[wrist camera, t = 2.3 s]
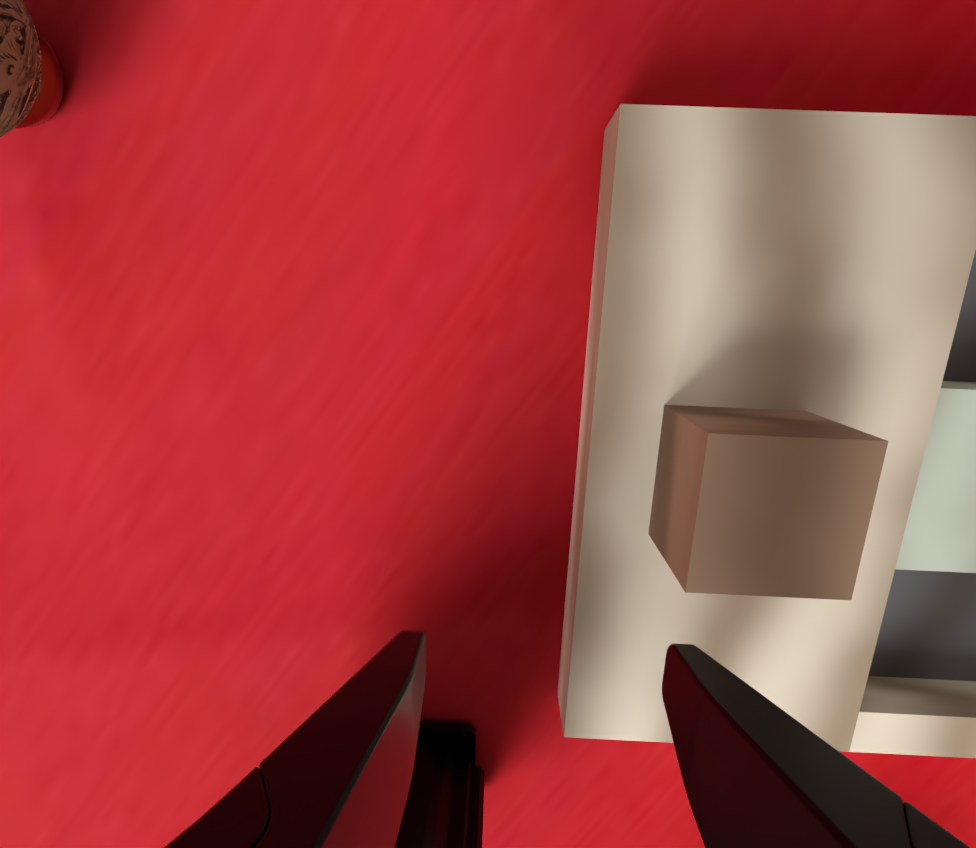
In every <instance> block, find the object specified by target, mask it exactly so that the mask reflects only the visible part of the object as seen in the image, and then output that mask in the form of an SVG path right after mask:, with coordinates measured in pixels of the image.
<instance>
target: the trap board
mask: <svg viewBox="0 0 976 848" xmlns="http://www.w3.org/2000/svg"><path fill="white" fill-rule="evenodd" d="M664 405H682V406H705V407H729V408H752V409H776V410H800V411H808V412H810V413H813V414H816V415H819V416H821V417H824V418H827V419H829V420H832V421H835V422H838V423H840V424H843V425H846V426H849V427H851V428H854V429H857V430H859V431H862V432H865V433H868V434H870V435H873V436H876V437H879V438H881V439H884V440H887V441H888V445H887V450H886V454H885V458H884V462H883V467H882V471H881V475H880V480H879V484H878V488H877V492H876V497H875V501H874V505H873V510H872V514H871V518H870V523H869V527H868V531H867V535H866V540H865V544H864V548H863V553H862V557H861V561H860V565H859V570H858V574H857V578H856V583H855V587H854V591H853V595H852V600H833V599H812V598H791V597H770V596H748V595H727V594H706V593H685V591H684V590H683V588H682V587H681V585H680V583H679V582H678V580H677V579H676V577H675V575H674V574H673V572H672V571H671V569H670V567H669V566H668V564H667V563H666V561H665V560H664V558H663V556H662V555H661V553H660V552H659V550H658V548H657V547H656V545H655V544H654V542H653V541H652V539H651V537H650V536H649V534H648V532H649V524H650V516H651V508H652V500H653V492H654V483H655V475H656V467H657V459H658V451H659V443H660V435H661V427H662V418H663V410H664ZM673 643H674V644H692V645H695V646H697V647H698V648H699V649H701V650H702V651H704V652H705V653H706V654H708V655H709V656H710V657H712V658H713V659H714V660H716V661H717V662H718V663H720V664H721V665H722V666H724V667H725V668H727V669H728V670H729V671H731V672H732V673H733V674H735V675H736V676H737V677H739V678H740V679H741V680H743V681H744V682H745V683H747V684H748V685H750V686H751V687H752V688H754V689H755V690H756V691H758V692H759V693H760V694H762V695H763V696H764V697H766V698H767V699H768V700H770V701H771V702H773V703H774V704H775V705H777V706H778V707H779V708H781V709H782V710H783V711H785V712H786V713H787V714H789V715H790V716H791V717H793V718H794V719H796V720H797V721H798V722H800V723H801V724H802V725H804V726H805V727H806V728H808V729H809V730H810V731H812V732H813V733H814V734H816V735H817V736H819V737H820V738H821V739H823V740H824V741H825V742H827V743H828V744H829V745H831V746H832V747H833V748H835V749H836V750H838V751H845V752H865V753H884V754H904V755H924V756H943V757H963V758H976V116H957V115H929V114H900V113H871V112H842V111H814V110H785V109H756V108H727V107H699V106H670V105H641V104H620V105H619V107H618V109H617V110H616V112H615V114H614V115H613V117H612V118H611V120H610V122H609V123H608V125H607V127H606V128H605V132H604V144H603V156H602V168H601V179H600V191H599V203H598V215H597V227H596V239H595V251H594V263H593V275H592V287H591V299H590V311H589V323H588V335H587V346H586V358H585V370H584V382H583V394H582V406H581V418H580V430H579V442H578V454H577V466H576V478H575V490H574V502H573V513H572V525H571V537H570V549H569V561H568V573H567V585H566V597H565V609H564V621H563V633H562V645H561V657H560V668H559V680H558V692H557V694H558V700H559V707H560V714H561V721H562V728H563V735H564V737H570V738H590V739H610V740H629V741H649V742H669V743H674V742H673V738H672V734H671V730H670V726H669V722H668V718H667V714H666V710H665V706H664V702H663V697H662V680H663V673H664V666H665V659H666V653H667V649H668V647H669V645H671V644H673Z"/></svg>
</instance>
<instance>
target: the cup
mask: <svg viewBox="0 0 976 848" xmlns="http://www.w3.org/2000/svg"><path fill="white" fill-rule="evenodd" d="M62 95H63V75H62V70H61V67H60V64H59V61H58V59H57V57H56V55H55V53H54V51H53V49H52V48H51V46H50V45H49V44H48V42H47V41H46V39H45V38H44V37H43V36H42V34H41V33H40V32H39V31H38V30H37V29H36V28H35V26H34V24H33V21H32V18H31V16H30V14H29V12H28V10H27V8H26V6H25V4H24V2H23V0H0V137H1V136H3V135H5V134H7V133H8V132H10V131H11V130H13V129H14V128H26V127H32V126H36V125H39V124H41V123H43V122H45V121H47V120H48V119H49V118H50V117H52V116H53V114H54V113H55V112H56V110H57V109H58V107H59V105H60V102H61V100H62Z"/></svg>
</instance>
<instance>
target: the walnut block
mask: <svg viewBox="0 0 976 848" xmlns="http://www.w3.org/2000/svg"><path fill="white" fill-rule="evenodd" d="M887 445H888V441H887V440H884V439H881V438H879V437H876V436H873V435H870V434H868V433H865V432H862V431H859V430H857V429H854V428H851V427H849V426H846V425H843V424H840V423H838V422H835V421H832V420H829V419H827V418H824V417H821V416H819V415H816V414H813V413H810V412H808V411H800V410H776V409H752V408H729V407H705V406H682V405H664V410H663V418H662V427H661V435H660V443H659V451H658V459H657V467H656V475H655V483H654V492H653V500H652V508H651V516H650V524H649V532H648V534H649V536H650V537H651V539H652V541H653V542H654V544H655V545H656V547H657V548H658V550H659V552H660V553H661V555H662V556H663V558H664V560H665V561H666V563H667V564H668V566H669V567H670V569H671V571H672V572H673V574H674V575H675V577H676V579H677V580H678V582H679V583H680V585H681V587H682V588H683V590H684V591H685V593H706V594H727V595H748V596H770V597H791V598H812V599H833V600H852V595H853V591H854V587H855V583H856V578H857V574H858V570H859V565H860V561H861V557H862V553H863V548H864V544H865V540H866V535H867V531H868V527H869V523H870V518H871V514H872V510H873V505H874V501H875V497H876V492H877V488H878V484H879V480H880V475H881V471H882V467H883V462H884V458H885V454H886V450H887Z"/></svg>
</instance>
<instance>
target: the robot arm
mask: <svg viewBox="0 0 976 848" xmlns="http://www.w3.org/2000/svg"><path fill="white" fill-rule="evenodd" d="M425 681H426V634H425V632H424V631H415V630H403V631H401V632H399V633H398V634H397V635H396V636H395V637H394V638H393V639H392V640H391V641H390V642H389V643H388V644H387V645H386V646H384V647H383V648H382V649H381V650H380V651H379V652H378V653H377V654H376V655H375V656H374V657H373V658H372V659H371V660H370V661H369V662H367V663H366V664H365V665H364V666H363V667H362V668H361V669H360V670H359V671H358V672H357V673H356V674H355V675H354V676H353V677H351V678H350V679H349V680H348V681H347V682H346V683H345V684H344V685H343V686H342V687H341V688H340V689H339V690H338V691H337V692H335V693H334V694H333V695H332V696H331V697H330V698H329V699H328V700H327V701H326V702H325V703H324V704H323V705H322V706H321V707H319V708H318V709H317V710H316V711H315V712H314V713H313V714H312V715H311V716H310V717H309V718H308V719H307V720H306V721H305V722H303V723H302V724H301V725H300V726H299V727H298V728H297V729H296V730H295V731H294V732H293V733H292V734H291V735H290V736H289V737H288V738H286V739H285V740H284V741H283V742H282V743H281V744H280V745H279V746H278V747H277V748H276V749H275V750H274V751H273V752H272V753H270V754H269V755H268V756H267V757H266V758H265V759H264V760H263V761H262V762H261V763H260V765H259V768H258V767H256V768H254V769H253V770H252V771H251V772H250V773H249V774H248V775H247V776H246V777H245V778H243V779H242V780H241V781H240V782H239V783H238V784H237V785H236V786H235V787H234V788H233V789H232V790H231V791H229V792H228V793H227V794H226V795H225V796H224V797H223V798H222V799H220V800H219V801H218V802H217V803H216V804H215V805H214V806H213V807H212V808H210V809H209V810H208V811H207V812H206V813H205V814H204V815H203V816H202V817H200V818H199V819H198V820H197V821H196V822H194V823H193V824H192V825H191V826H190V827H188V828H187V829H186V830H185V831H183V832H182V833H181V834H180V835H179V836H177V837H176V838H175V839H174V840H173V841H171V842H170V843H169V844H168V845H167V846H165V847H164V848H482V830H483V799H484V770H483V769H482V767H481V766H475V750H476V729H475V727H474V726H473V725H471V724H469V723H459V722H439V721H420V718H421V711H422V704H423V697H424V690H425ZM662 697H663V702H664V706H665V710H666V714H667V718H668V722H669V726H670V730H671V734H672V738H673V742H674V746H675V750H676V754H677V758H678V762H679V766H680V770H681V774H682V778H683V782H684V786H685V789H686V793H687V797H688V800H689V803H690V806H691V809H692V812H693V814H694V817H695V820H696V823H697V826H698V828H699V831H700V834H701V837H702V840H703V842H704V845H705V848H970V847H968V846H967V845H966V844H964V843H963V842H961V841H960V840H959V839H957V838H956V837H955V836H953V835H952V834H950V833H949V832H948V831H946V830H945V829H943V828H942V827H941V826H939V825H938V824H937V823H935V822H934V821H932V820H931V819H930V818H928V817H927V816H926V815H924V814H923V813H922V812H920V811H919V810H918V809H916V808H915V807H914V806H912V805H911V804H910V803H908V802H904V803H903V801H902V798H901V797H900V796H898V795H897V794H896V793H894V792H893V791H892V790H890V789H889V788H888V787H886V786H885V785H884V784H882V783H881V782H879V781H878V780H877V779H875V778H874V777H873V776H871V775H870V774H869V773H867V772H866V771H865V770H863V769H862V768H861V767H859V766H858V765H856V764H855V763H854V762H852V761H851V760H850V759H848V758H847V757H846V756H844V755H843V754H842V753H840V752H839V751H838V750H836V749H835V748H833V747H832V746H831V745H829V744H828V743H827V742H825V741H824V740H823V739H821V738H820V737H819V736H817V735H816V734H814V733H813V732H812V731H810V730H809V729H808V728H806V727H805V726H804V725H802V724H801V723H800V722H798V721H797V720H796V719H794V718H793V717H791V716H790V715H789V714H787V713H786V712H785V711H783V710H782V709H781V708H779V707H778V706H777V705H775V704H774V703H773V702H771V701H770V700H768V699H767V698H766V697H764V696H763V695H762V694H760V693H759V692H758V691H756V690H755V689H754V688H752V687H751V686H750V685H748V684H747V683H745V682H744V681H743V680H741V679H740V678H739V677H737V676H736V675H735V674H733V673H732V672H731V671H729V670H728V669H727V668H725V667H724V666H722V665H721V664H720V663H718V662H717V661H716V660H714V659H713V658H712V657H710V656H709V655H708V654H706V653H705V652H704V651H702V650H701V649H699V648H698V647H697V646H695V645H692V644H674V643H673V644H671V645H669V647H668V649H667V653H666V659H665V666H664V673H663V680H662ZM462 734H467V735H468V736H464V735H462Z"/></svg>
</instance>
